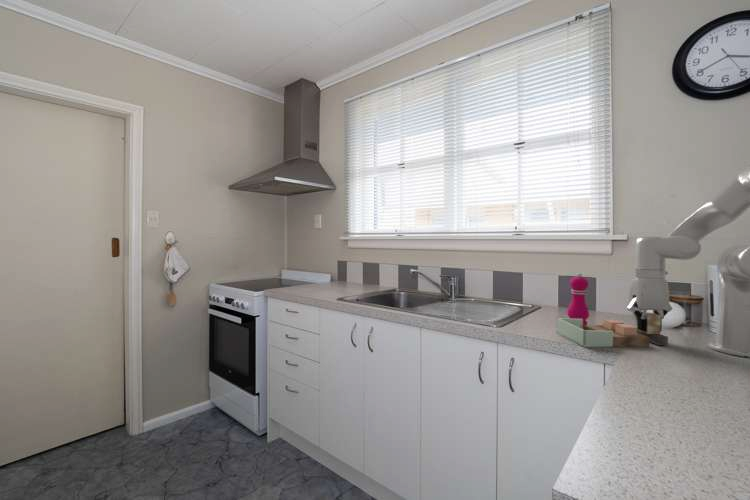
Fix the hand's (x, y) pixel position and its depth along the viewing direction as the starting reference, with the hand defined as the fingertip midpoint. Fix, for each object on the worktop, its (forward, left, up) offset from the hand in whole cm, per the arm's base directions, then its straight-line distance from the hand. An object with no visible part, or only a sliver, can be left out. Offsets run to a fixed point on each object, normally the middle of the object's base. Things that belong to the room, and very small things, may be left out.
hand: (649, 329), depth 113 cm
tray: (+21, 0, -4) cm, 22 cm away
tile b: (+10, -3, -1) cm, 10 cm away
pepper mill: (+12, -19, -4) cm, 23 cm away
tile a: (+10, +3, -1) cm, 10 cm away
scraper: (0, 0, -3) cm, 3 cm away
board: (+11, 0, -4) cm, 12 cm away
